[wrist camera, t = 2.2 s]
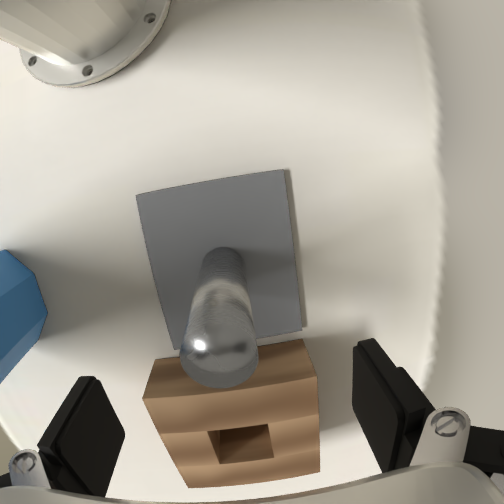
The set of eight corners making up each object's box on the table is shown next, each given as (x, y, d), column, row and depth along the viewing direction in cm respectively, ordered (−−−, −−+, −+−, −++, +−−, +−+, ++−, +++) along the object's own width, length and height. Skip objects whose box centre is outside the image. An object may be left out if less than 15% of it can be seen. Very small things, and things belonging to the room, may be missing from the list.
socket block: (155, 359, 25) (142, 398, 20) (302, 338, 25) (316, 376, 20) (191, 450, 28) (188, 488, 23) (309, 434, 28) (320, 471, 23)
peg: (197, 250, 22) (170, 330, 11) (241, 243, 22) (252, 318, 11) (205, 291, 23) (190, 392, 12) (248, 284, 23) (263, 382, 12)
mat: (137, 194, 21) (135, 195, 21) (282, 169, 21) (283, 169, 21) (175, 347, 24) (174, 349, 24) (301, 327, 25) (302, 330, 24)
